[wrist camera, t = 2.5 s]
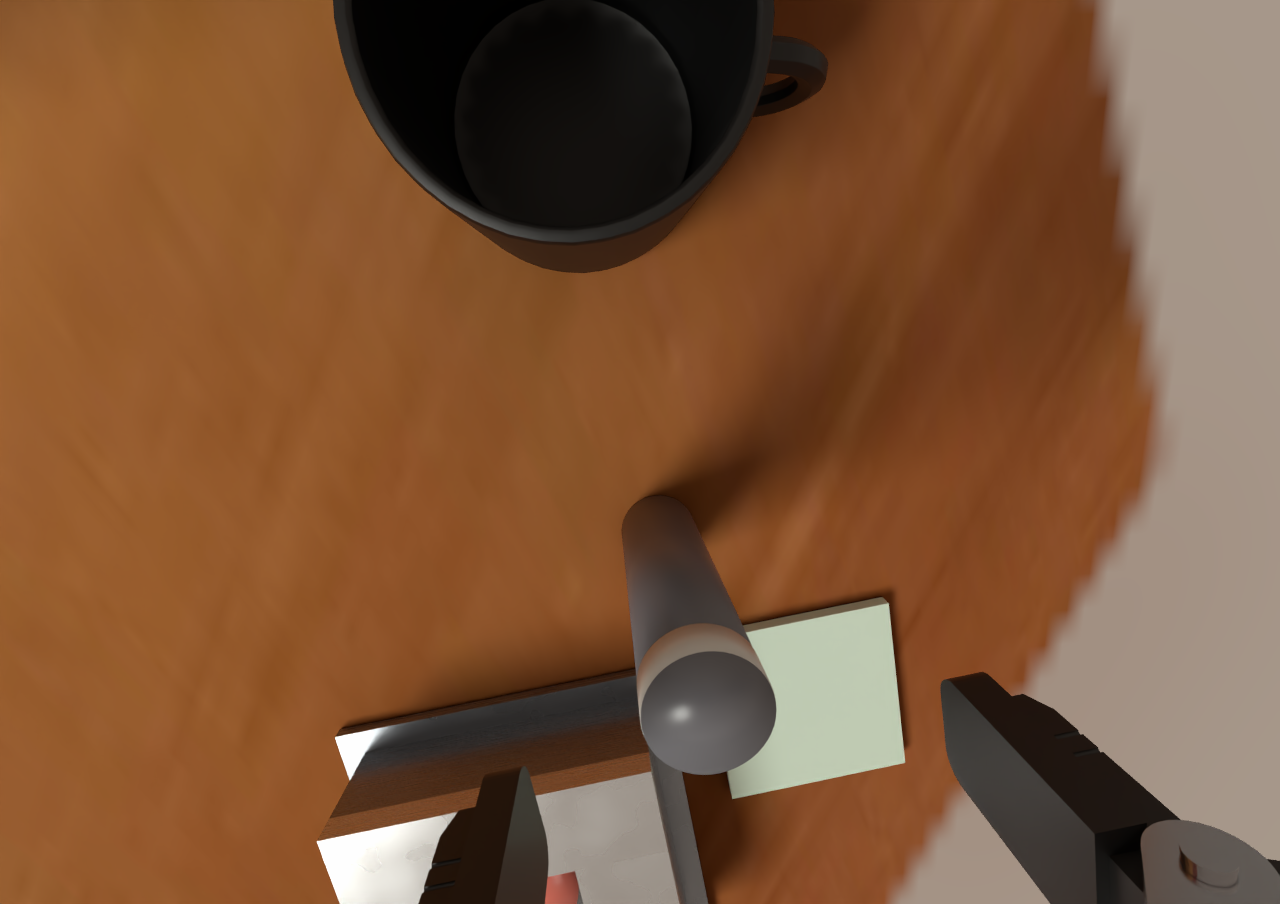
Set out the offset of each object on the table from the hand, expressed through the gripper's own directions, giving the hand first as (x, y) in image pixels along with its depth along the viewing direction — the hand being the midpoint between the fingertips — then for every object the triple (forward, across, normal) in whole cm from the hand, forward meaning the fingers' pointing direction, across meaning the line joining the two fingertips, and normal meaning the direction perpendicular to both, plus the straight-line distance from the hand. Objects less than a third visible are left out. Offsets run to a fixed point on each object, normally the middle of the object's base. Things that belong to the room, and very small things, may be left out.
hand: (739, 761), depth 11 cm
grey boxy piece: (+14, +9, +13) cm, 21 cm away
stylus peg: (+14, 0, 0) cm, 14 cm away
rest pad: (+14, -4, +9) cm, 17 cm away
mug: (+14, -1, -15) cm, 20 cm away
